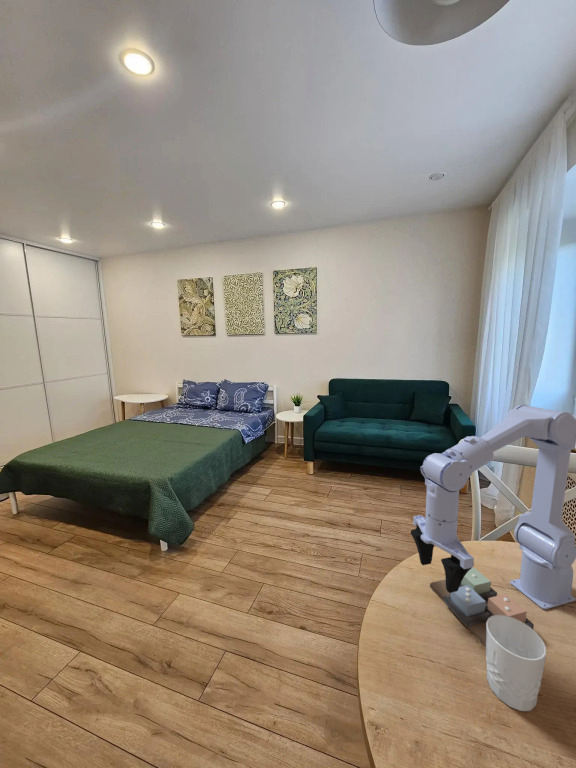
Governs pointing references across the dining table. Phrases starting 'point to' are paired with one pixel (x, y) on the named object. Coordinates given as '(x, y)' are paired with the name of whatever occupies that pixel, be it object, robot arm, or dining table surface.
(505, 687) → the white cup
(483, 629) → the board
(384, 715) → the dining table surface
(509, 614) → the tile two
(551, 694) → the dining table surface
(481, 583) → the tile one
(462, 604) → the tile three
